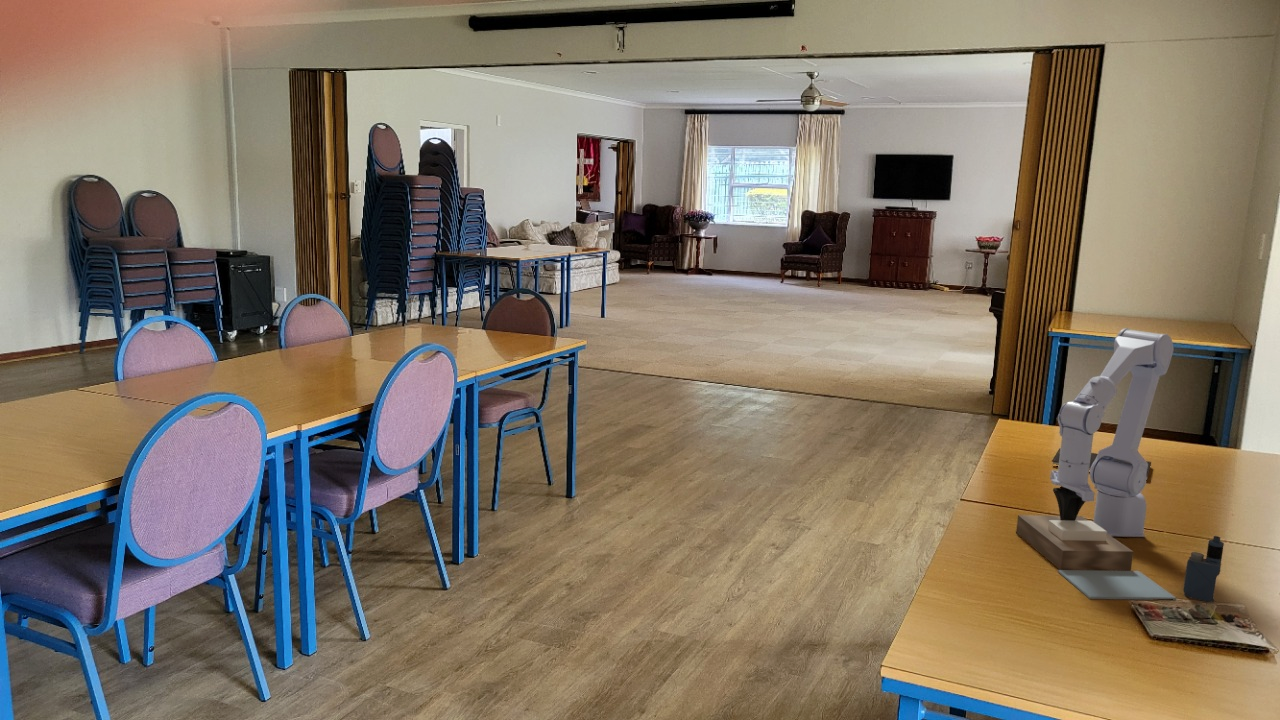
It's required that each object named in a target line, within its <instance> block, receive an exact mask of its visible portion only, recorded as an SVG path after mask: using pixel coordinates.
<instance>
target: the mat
mask: <svg viewBox="0 0 1280 720" xmlns="http://www.w3.org/2000/svg"><path fill="white" fill-rule="evenodd" d="M1057 572H1058V574H1060V575H1061V576H1062V577H1063V578H1065V579H1066V580H1067V581H1068V582H1069V583H1070V584H1071V585H1073V586H1074V587H1075V588H1076V589H1077V590H1079V591H1080V592H1081V594H1083V595H1084V596H1086V598H1088V599H1090V600H1153V599H1173V600H1174V601H1175V600H1177V597H1176V596H1175V595H1173V594H1172V593H1170V592H1169V591H1167V590H1166V589H1164V588H1163V587H1162V586H1160V585H1159V584H1158V583H1156V582H1155V581H1154V580H1152V579H1151V578H1149V577H1148V576H1146V575H1145V574H1143V573H1142V572H1141V571H1139V570H1131V571H1098V570H1060V569H1057Z"/></svg>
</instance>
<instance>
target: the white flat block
mask: <svg viewBox="0 0 1280 720" xmlns="http://www.w3.org/2000/svg"><path fill="white" fill-rule="evenodd" d="M1093 521H1094V520H1088V521H1074V520H1049V523H1048V530H1049V531H1051V532H1052V533H1053V534H1054V535H1056V536H1057V537H1058V538H1059V539H1061V540H1085V541H1106V535H1107V531H1106V530H1104V529H1103V528H1101V527H1100V526H1098V525H1097V524H1096V523H1094V522H1093Z"/></svg>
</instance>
